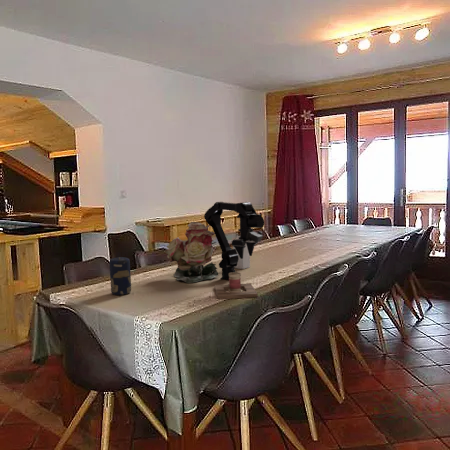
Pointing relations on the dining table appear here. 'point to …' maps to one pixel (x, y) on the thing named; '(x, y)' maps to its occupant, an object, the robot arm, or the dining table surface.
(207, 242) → the rose bouquet
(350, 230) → the dining table surface
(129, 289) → the dark blue canister
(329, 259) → the dining table surface
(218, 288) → the brown flat piece
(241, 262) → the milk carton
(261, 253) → the dining table surface
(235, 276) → the red and beige cylinder
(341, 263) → the dining table surface
